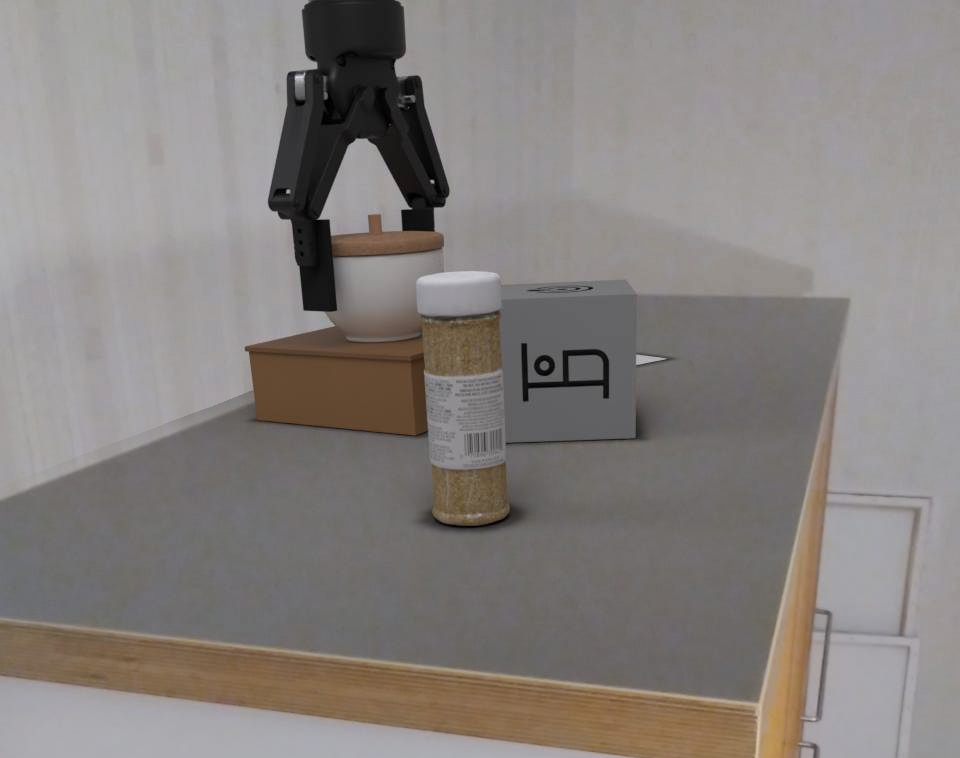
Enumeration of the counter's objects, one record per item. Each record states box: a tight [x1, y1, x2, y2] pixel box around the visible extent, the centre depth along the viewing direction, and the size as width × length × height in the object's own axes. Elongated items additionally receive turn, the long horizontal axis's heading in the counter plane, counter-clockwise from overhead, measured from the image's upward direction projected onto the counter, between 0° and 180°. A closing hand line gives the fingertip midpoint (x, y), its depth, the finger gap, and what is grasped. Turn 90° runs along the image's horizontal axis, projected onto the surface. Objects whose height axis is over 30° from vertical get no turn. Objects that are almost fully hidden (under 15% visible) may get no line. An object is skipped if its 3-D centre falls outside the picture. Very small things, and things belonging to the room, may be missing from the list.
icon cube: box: [499, 279, 638, 444], centre depth 84 cm, size 10×10×10 cm
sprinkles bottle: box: [416, 270, 511, 527], centre depth 62 cm, size 5×5×13 cm
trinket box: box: [324, 213, 445, 342], centre depth 90 cm, size 11×11×9 cm
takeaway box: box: [244, 325, 428, 437], centre depth 93 cm, size 16×14×6 cm
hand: (373, 300), depth 91 cm, fingers open, 13 cm apart
